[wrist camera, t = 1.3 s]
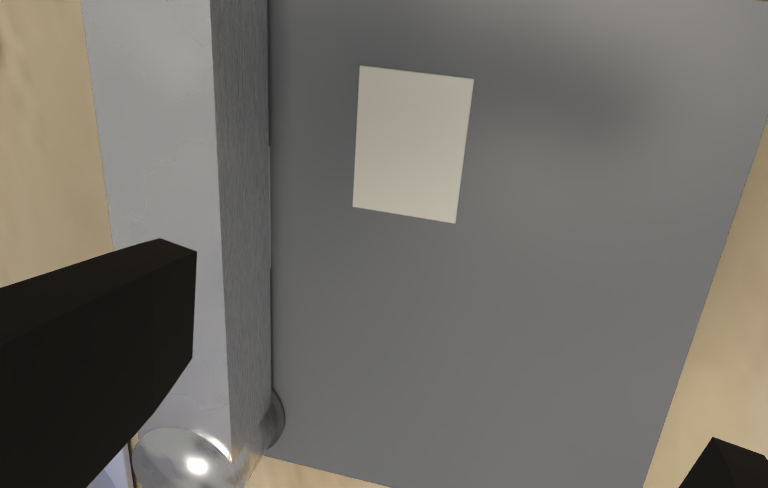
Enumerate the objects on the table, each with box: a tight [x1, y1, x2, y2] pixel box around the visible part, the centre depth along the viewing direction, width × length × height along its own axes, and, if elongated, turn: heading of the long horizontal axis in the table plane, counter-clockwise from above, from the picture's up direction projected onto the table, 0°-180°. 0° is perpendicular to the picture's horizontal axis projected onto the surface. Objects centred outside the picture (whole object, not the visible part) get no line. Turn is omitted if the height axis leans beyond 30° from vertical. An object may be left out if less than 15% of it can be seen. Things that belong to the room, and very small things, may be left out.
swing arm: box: [81, 0, 277, 488], centre depth 19 cm, size 17×4×3 cm, turn 176°
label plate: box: [263, 0, 768, 488], centre depth 19 cm, size 16×17×1 cm
